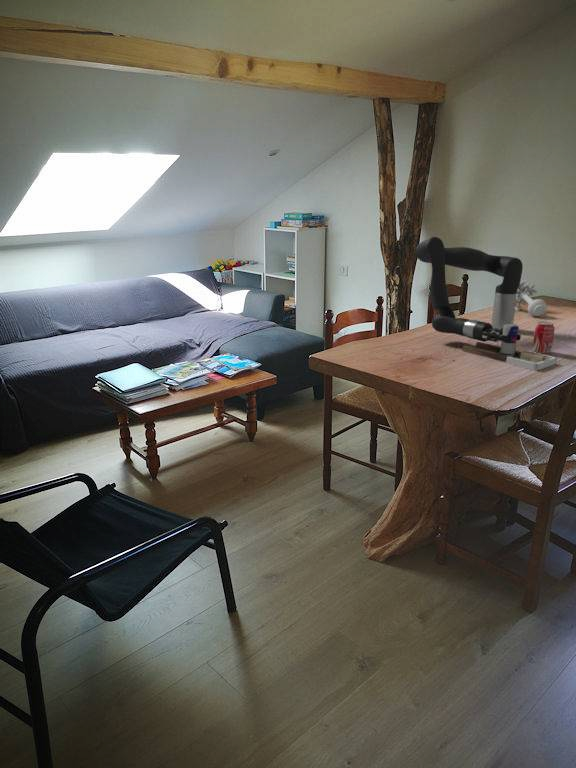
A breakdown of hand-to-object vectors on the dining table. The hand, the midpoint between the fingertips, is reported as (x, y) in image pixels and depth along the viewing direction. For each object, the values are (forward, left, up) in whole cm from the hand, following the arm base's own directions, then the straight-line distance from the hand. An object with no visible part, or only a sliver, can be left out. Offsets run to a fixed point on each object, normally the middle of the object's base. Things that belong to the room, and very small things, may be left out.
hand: (515, 339), depth 214 cm
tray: (0, +7, -8) cm, 11 cm away
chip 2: (0, +10, -8) cm, 13 cm away
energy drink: (0, -3, -7) cm, 8 cm away
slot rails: (0, -10, -8) cm, 12 cm away
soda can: (-18, +1, -8) cm, 20 cm away
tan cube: (0, +6, -8) cm, 10 cm away
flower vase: (-84, -44, -8) cm, 95 cm away
